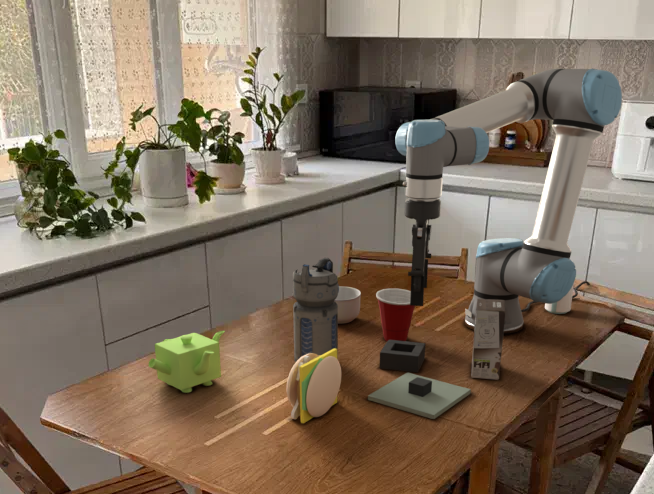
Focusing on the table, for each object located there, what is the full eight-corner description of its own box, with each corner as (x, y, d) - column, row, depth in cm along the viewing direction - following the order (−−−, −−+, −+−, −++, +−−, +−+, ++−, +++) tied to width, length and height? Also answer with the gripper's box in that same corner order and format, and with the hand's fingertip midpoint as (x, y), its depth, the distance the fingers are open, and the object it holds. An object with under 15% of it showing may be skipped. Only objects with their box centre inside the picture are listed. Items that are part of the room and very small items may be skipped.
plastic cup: (396, 350, 192) (398, 303, 188) (366, 339, 200) (366, 293, 195) (426, 340, 199) (428, 294, 194) (395, 329, 206) (397, 285, 202)
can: (550, 305, 225) (554, 264, 220) (573, 309, 221) (579, 268, 217) (540, 311, 220) (545, 270, 215) (564, 316, 216) (570, 274, 211)
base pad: (407, 376, 177) (407, 362, 176) (470, 393, 168) (472, 378, 167) (367, 399, 165) (367, 384, 164) (433, 419, 157) (434, 403, 155)
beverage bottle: (348, 357, 188) (349, 255, 178) (324, 377, 177) (324, 269, 167) (311, 351, 192) (310, 250, 182) (285, 369, 181) (282, 264, 171)
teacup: (367, 318, 215) (368, 290, 212) (347, 329, 207) (347, 300, 204) (325, 309, 222) (325, 282, 219) (303, 320, 214) (303, 292, 210)
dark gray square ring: (388, 354, 189) (388, 339, 188) (424, 358, 187) (425, 343, 185) (379, 368, 181) (379, 352, 180) (417, 372, 179) (418, 356, 177)
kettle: (227, 370, 180) (224, 324, 176) (221, 396, 167) (218, 347, 163) (162, 371, 180) (157, 325, 175) (150, 397, 167) (145, 347, 162)
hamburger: (313, 395, 167) (313, 343, 162) (346, 405, 163) (346, 351, 158) (279, 416, 158) (277, 360, 153) (312, 426, 154) (312, 369, 149)
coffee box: (499, 380, 175) (506, 311, 168) (470, 378, 176) (475, 309, 170) (499, 365, 183) (505, 299, 177) (471, 363, 184) (477, 297, 178)
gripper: (409, 187, 175) (406, 279, 183) (399, 208, 152) (396, 312, 161) (443, 188, 174) (438, 281, 182) (438, 210, 151) (433, 314, 160)
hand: (418, 296), depth 172 cm, fingers open, 13 cm apart
